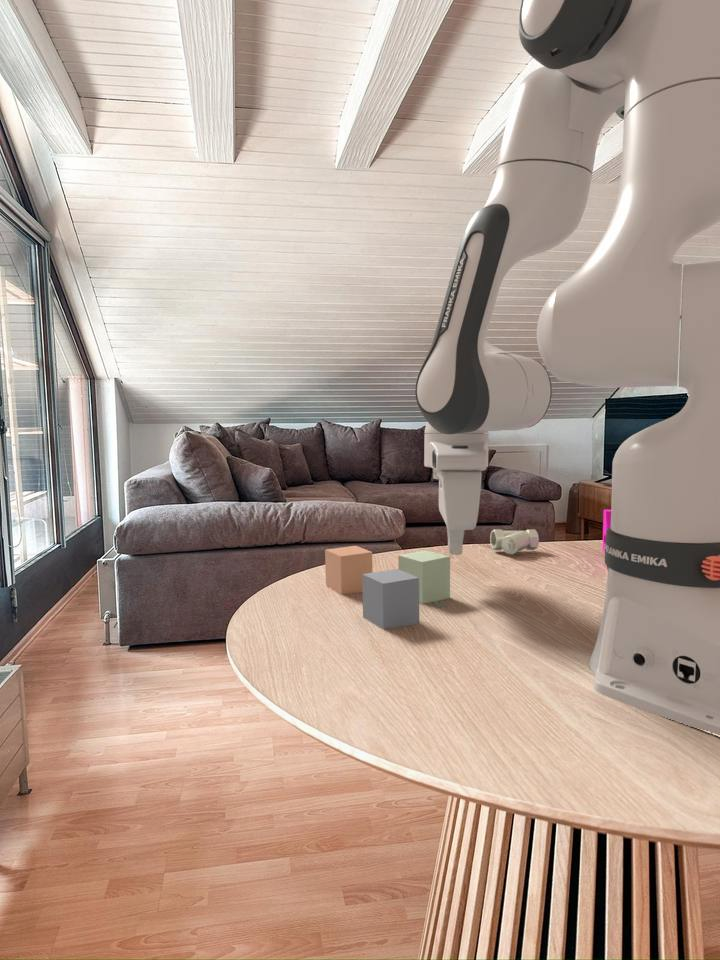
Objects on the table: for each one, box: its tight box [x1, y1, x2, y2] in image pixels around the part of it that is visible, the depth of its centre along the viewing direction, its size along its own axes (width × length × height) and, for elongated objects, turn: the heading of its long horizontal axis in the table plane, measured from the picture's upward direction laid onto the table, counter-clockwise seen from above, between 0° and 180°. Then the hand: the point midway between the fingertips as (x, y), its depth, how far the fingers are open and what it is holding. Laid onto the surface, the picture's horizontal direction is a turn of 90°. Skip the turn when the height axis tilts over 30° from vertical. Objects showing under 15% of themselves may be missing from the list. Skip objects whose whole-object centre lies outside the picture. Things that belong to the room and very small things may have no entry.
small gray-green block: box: [430, 601, 449, 609], centre depth 85 cm, size 2×1×1 cm, turn 28°
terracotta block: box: [324, 545, 373, 595], centre depth 92 cm, size 5×5×6 cm
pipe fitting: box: [489, 528, 540, 555], centre depth 116 cm, size 8×4×7 cm
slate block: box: [362, 568, 420, 630], centre depth 78 cm, size 5×5×6 cm
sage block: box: [397, 549, 451, 605], centre depth 88 cm, size 5×5×6 cm
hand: (455, 553), depth 90 cm, fingers closed
